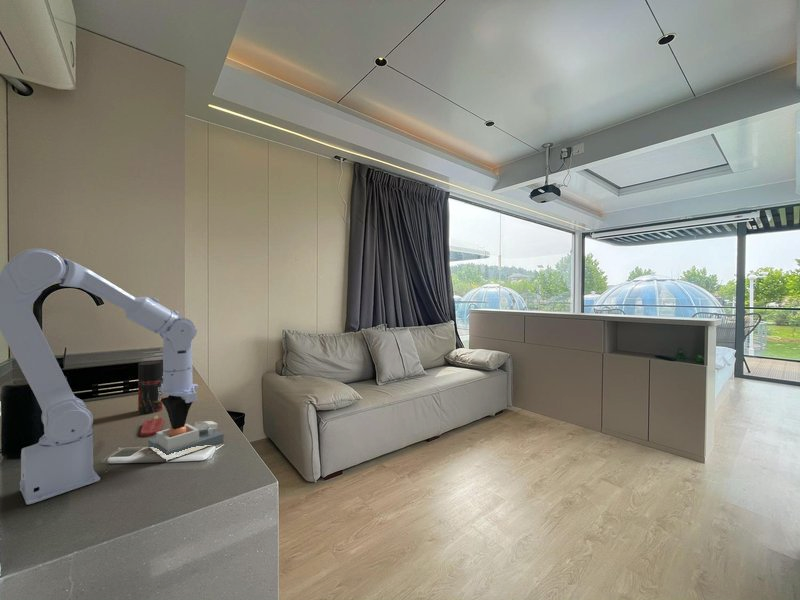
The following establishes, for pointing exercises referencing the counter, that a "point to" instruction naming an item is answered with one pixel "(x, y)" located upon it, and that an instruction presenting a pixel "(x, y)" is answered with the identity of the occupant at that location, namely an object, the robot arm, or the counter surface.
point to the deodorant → (149, 387)
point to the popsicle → (152, 426)
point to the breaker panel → (185, 439)
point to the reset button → (177, 431)
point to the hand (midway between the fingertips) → (178, 427)
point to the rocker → (205, 425)
